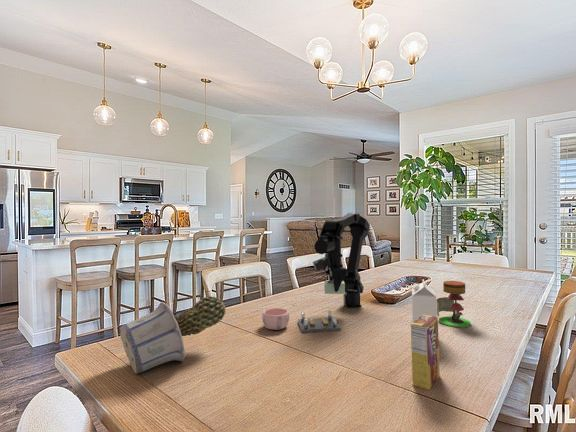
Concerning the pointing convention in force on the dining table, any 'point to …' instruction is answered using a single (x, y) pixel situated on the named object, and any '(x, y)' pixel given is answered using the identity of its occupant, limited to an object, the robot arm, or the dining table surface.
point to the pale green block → (330, 287)
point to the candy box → (425, 351)
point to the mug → (275, 318)
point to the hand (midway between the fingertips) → (334, 289)
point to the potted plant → (167, 332)
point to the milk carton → (423, 301)
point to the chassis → (318, 323)
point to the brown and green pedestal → (452, 304)
